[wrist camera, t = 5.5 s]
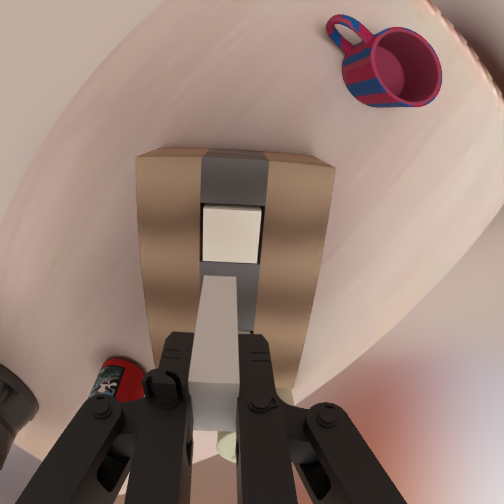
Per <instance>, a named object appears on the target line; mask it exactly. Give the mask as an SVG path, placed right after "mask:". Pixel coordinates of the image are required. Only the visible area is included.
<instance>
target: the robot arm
mask: <svg viewBox="0 0 504 504" xmlns="http://www.w3.org/2000/svg"><path fill="white" fill-rule="evenodd" d="M141 382H142V386H143V390H144V394H145V397H143V398H141V399H138V400H134V401H127V402H119V401H118V399H117V398H115V397H113V396H112V395H108V394H96V395H94V396H92V397H90V398H88V399H87V400H86V401H85V402H84V404H83V405H82V406H81V408H80V409H79V411H78V412H77V413H76V415H75V416H74V417H73V419H72V420H71V422H70V423H69V424H68V426H67V427H66V429H65V430H64V432H63V433H62V434H61V436H60V437H59V439H58V440H57V442H56V443H55V444H54V446H53V447H52V449H51V450H50V452H49V453H48V455H47V456H46V457H45V459H44V460H43V462H42V463H41V465H40V466H39V468H38V469H37V471H36V472H35V474H34V475H33V477H32V478H31V480H30V481H29V483H28V485H27V486H26V488H25V489H24V491H23V492H22V494H21V495H20V497H19V498H18V500H17V502H16V503H15V504H113V503H114V501H115V499H116V497H117V495H118V493H119V491H120V489H121V487H122V485H123V483H124V481H125V479H126V477H127V475H128V474H129V472H130V474H129V479H128V485H127V491H126V497H125V503H124V504H190V492H191V473H192V457H193V437H192V435H193V428H194V430H205V431H233V432H236V447H235V454H236V469H237V470H236V471H237V500H238V504H298V502H297V496H296V489H295V483H294V477H293V470H292V464H291V462H293V464H294V466H295V468H296V470H297V472H298V474H299V476H300V478H301V480H302V482H303V484H304V486H305V488H306V490H307V492H308V494H309V496H310V498H311V500H312V502H313V504H407V503H406V501H405V500H404V498H403V497H402V495H401V494H400V492H399V491H398V490H397V488H396V486H395V485H394V483H393V482H392V481H391V479H390V477H389V476H388V475H387V473H386V472H385V470H384V469H383V467H382V466H381V464H380V463H379V461H378V460H377V458H376V457H375V455H374V454H373V452H372V451H371V449H370V448H369V446H368V445H367V443H366V442H365V440H364V439H363V437H362V436H361V434H360V433H359V431H358V430H357V428H356V427H355V425H354V424H353V422H352V421H351V419H350V418H349V417H348V415H347V413H346V412H345V411H344V410H343V409H342V408H341V407H339V406H337V405H335V404H333V403H327V402H324V403H318V404H316V405H314V406H312V407H311V408H310V409H304V408H299V407H295V406H292V405H289V404H287V403H285V402H284V401H283V400H282V399H281V398H280V397H279V396H278V394H277V392H276V388H275V381H274V375H273V369H272V362H271V356H270V349H269V343H268V341H267V340H266V339H265V337H264V336H263V335H262V334H238V322H237V287H236V277H230V276H206V275H204V279H203V285H202V291H201V297H200V303H199V309H198V316H197V322H196V329H195V333H193V332H177V331H173V332H172V333H171V334H170V335H169V336H168V337H167V338H166V339H165V343H164V347H163V351H162V355H161V359H160V363H159V367H158V368H157V369H154V370H151V371H149V372H148V373H147V374H145V375H144V377H143V379H142V381H141ZM37 411H38V403H37V401H36V399H35V397H34V396H33V394H32V393H31V391H30V390H29V389H28V388H27V387H26V386H25V384H24V383H23V382H22V381H21V380H20V379H18V378H17V377H16V376H15V375H14V374H13V373H11V372H10V371H9V370H8V369H6V368H5V367H3V366H2V365H0V473H1V472H2V471H1V470H2V467H3V465H4V462H5V460H6V458H7V455H8V453H9V450H10V448H11V445H12V443H13V441H14V439H15V437H16V435H17V433H18V432H19V431H20V430H21V429H22V428H23V427H24V426H25V425H26V424H27V423H28V422H29V421H31V420H32V419H34V417H35V415H36V413H37Z"/></svg>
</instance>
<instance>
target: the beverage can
mask: <svg viewBox="0 0 504 504" xmlns="http://www.w3.org/2000/svg"><path fill="white" fill-rule="evenodd" d="M144 375H145V374H144V372H143V371H142V370H141V369H140V368H139V367H137V366H136V365H134V364H133V363H131V362H128V361H126V360H122V359H110V360H107V361H106V362H105V363H104V364H103V366H102V368H101V370H100V372H99V374H98V376H97V379H96V381H95V383H94V386H93V388H92V390H91V393H90V395H89V397H88V398H90V397H92V396H94V395H96V394H108V395H112V396H113V397H115V398H117V399H118V401H119V402H127V401H134V400H138V399H141V398H143V397H144V390H143V386H142V382H141V381H142V379H143V377H144Z"/></svg>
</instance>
